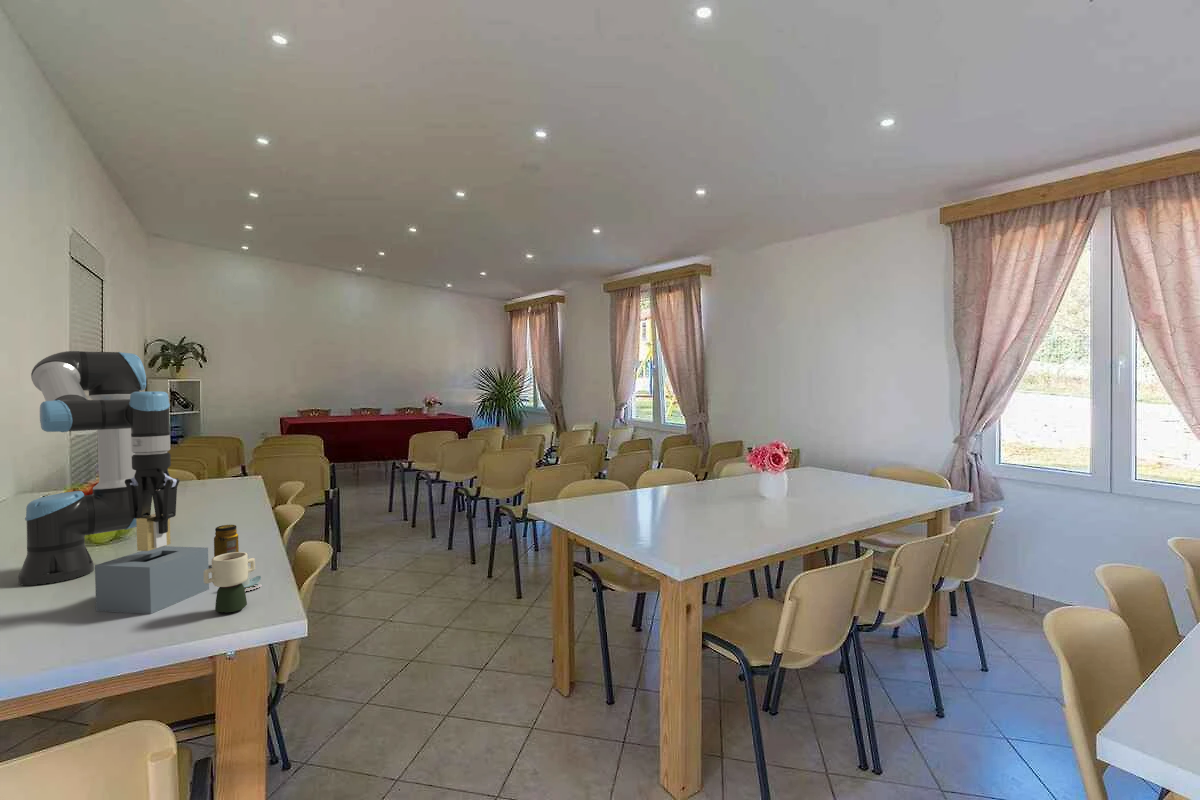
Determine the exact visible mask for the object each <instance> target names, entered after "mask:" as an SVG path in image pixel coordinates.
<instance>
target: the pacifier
mask: <svg viewBox="0 0 1200 800" xmlns="http://www.w3.org/2000/svg"><path fill="white" fill-rule="evenodd" d="M249 568H251V565H248V569H249ZM251 574H252V572H249V573H248V578H247V580H246V581H245V582H243V583H242V584H243V586H244V589H245V593H247V592H246V591H249V592H251V591H250V590H252V591H254V590H253V589H255V590H257V589H256V588H258V589H260V588H262V585H263V584H261V583H259V582H260V581H261V579H262V577H261V575H257V576H255V577H252V578H251V579H250V577H251ZM254 585H257V586H255V587H253V586H254ZM250 587H253V588H250ZM259 587H260V588H259ZM246 588H250V589H246Z"/></svg>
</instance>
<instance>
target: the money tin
mask: <svg viewBox="0 0 1200 800" xmlns="http://www.w3.org/2000/svg"><path fill="white" fill-rule="evenodd" d="M206 569H210V567H209V547H205V546H204V547H203V546H201V547H199V546H171V545H170V546H169V545H166V546H162V547H159V548H156V549H153V550H150V551H136V552H134V553H131V554H128V555H125V556H121V557H117V558H115V559H111V560H108V561H104V562H100V563H98V564H94V581H95V583H94V584H95V610H96V612H106V611H108V612H107V613H109V612H111V613H127V614H146V615H148V614H149V615H152V614H155V613H156V612H157V613H158V611H161V610H164V609H166V608H168V607H170V606H174V605H176V604H177V603H180V602H182V601H185V600H187V599H189V598H191V596H192V597H194V596H197V595H198V593H199V594H200V592H201V593H203V592H205V590H206V591H207V589H208V590H210V583H207V584H205V583H204V574H203V573H204V570H206ZM208 578H209V579H210V573H208ZM202 591H203V592H202Z"/></svg>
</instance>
